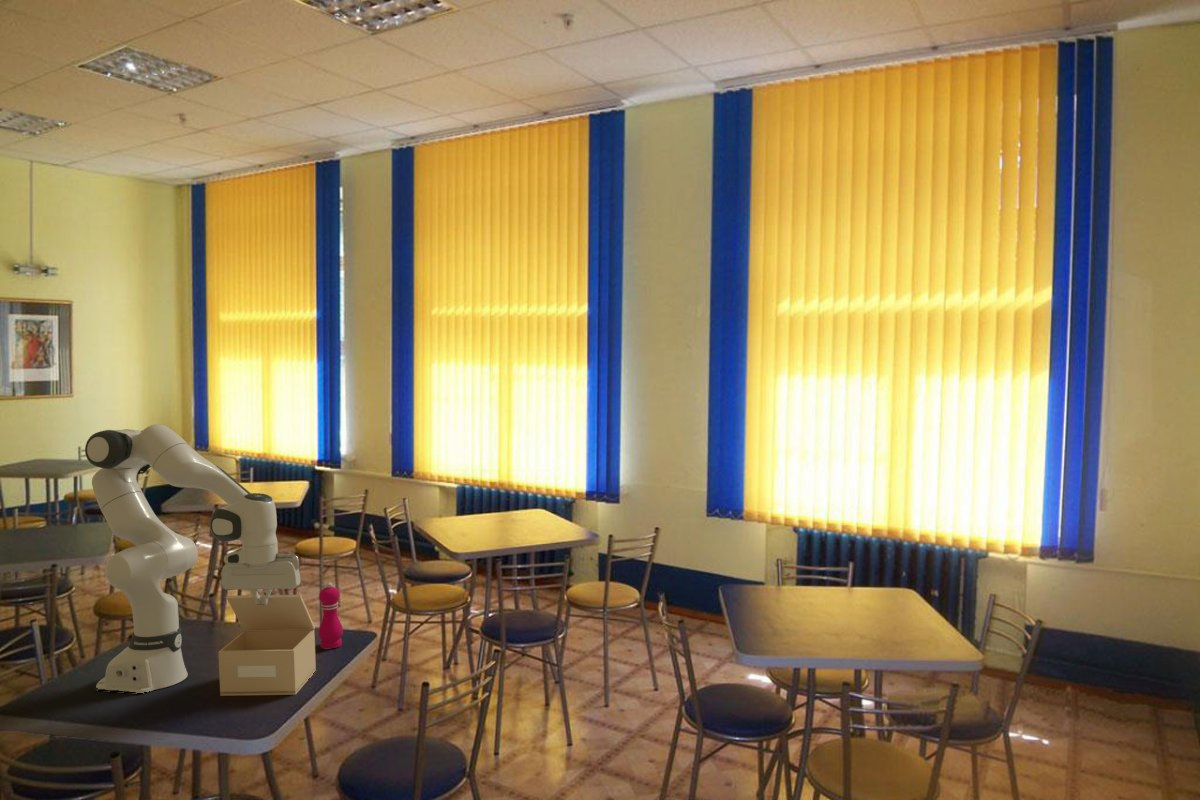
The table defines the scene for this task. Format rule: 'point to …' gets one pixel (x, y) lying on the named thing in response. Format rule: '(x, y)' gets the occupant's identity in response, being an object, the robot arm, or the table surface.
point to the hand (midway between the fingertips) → (262, 604)
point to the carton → (267, 662)
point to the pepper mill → (330, 618)
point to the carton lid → (272, 613)
